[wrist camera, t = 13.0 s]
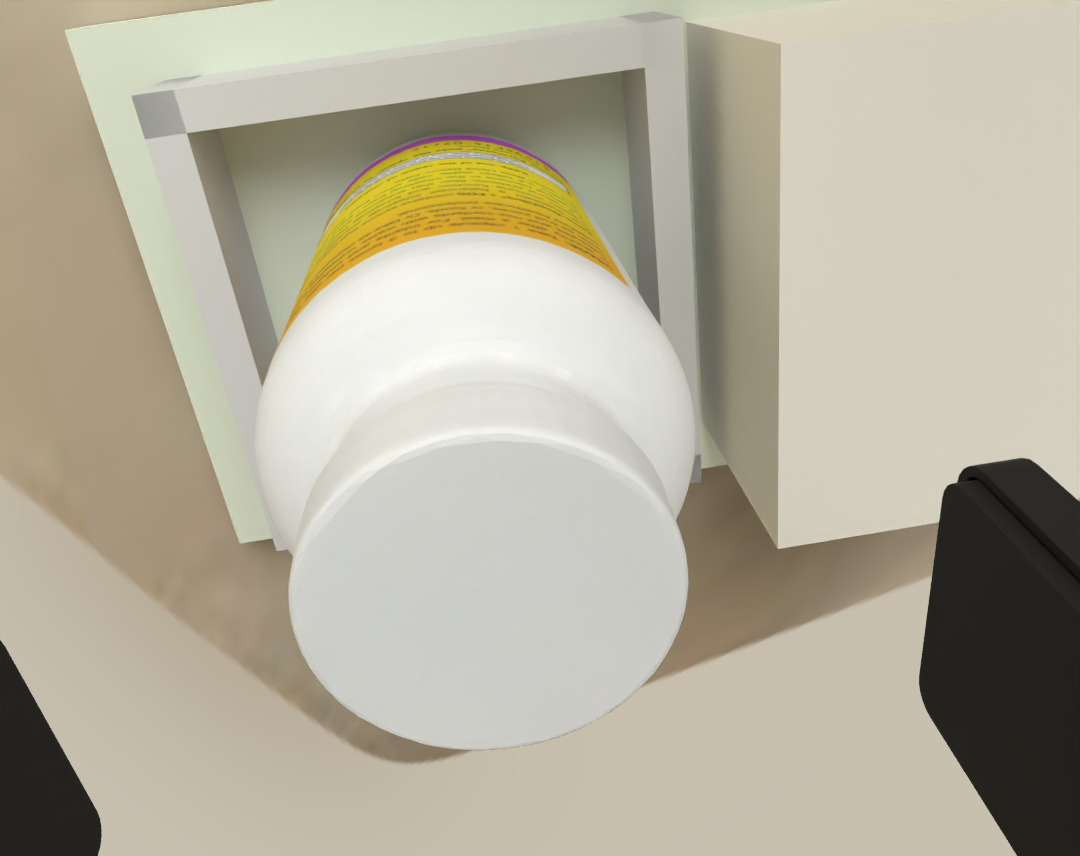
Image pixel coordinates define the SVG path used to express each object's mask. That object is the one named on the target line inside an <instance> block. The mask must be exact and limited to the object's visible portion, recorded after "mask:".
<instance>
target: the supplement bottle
mask: <svg viewBox="0 0 1080 856" xmlns="http://www.w3.org/2000/svg"><path fill="white" fill-rule="evenodd" d="M695 437H696V431H695V421H694V411H693V405H692V400H691V394H690V390H689V386H688V383H687V379H686V376H685V373H684V371H683V368H682V366H681V363H680V361H679V359H678V357H677V355H676V353H675V351H674V349H673V347H672V345H671V343H670V341H669V340H668V338H667V336H666V334H665V333H664V331H663V329H662V328H661V326H660V325H659V323H658V322H657V320H656V319H655V317H654V316H653V314H652V313H651V311H650V310H649V308H648V307H647V305H646V304H645V302H644V300H643V299H642V297H641V295H640V294H639V292H638V291H637V289H636V287H635V286H634V284H633V282H632V281H631V279H630V277H629V276H628V274H627V272H626V271H625V269H624V267H623V266H622V264H621V263H620V261H619V259H618V258H617V256H616V254H615V253H614V251H613V249H612V247H611V246H610V244H609V242H608V241H607V239H606V237H605V236H604V234H603V232H602V231H601V229H600V227H599V226H598V224H597V222H596V221H595V219H594V217H593V216H592V214H591V212H590V211H589V209H588V208H587V206H586V204H585V203H584V201H583V200H582V198H581V197H580V195H579V194H578V193H577V191H576V190H575V189H574V187H573V186H572V185H571V184H570V183H569V181H568V180H567V179H566V178H565V177H564V176H563V175H562V174H561V173H560V172H559V171H558V170H557V169H556V168H555V167H554V166H552V165H551V164H550V163H548V162H547V161H546V160H545V159H543V158H542V157H540V156H539V155H537V154H536V153H534V152H532V151H530V150H529V149H527V148H525V147H523V146H521V145H519V144H516V143H514V142H511V141H508V140H506V139H503V138H500V137H495V136H491V135H486V134H480V133H468V132H450V133H440V134H434V135H428V136H424V137H420V138H416V139H413V140H411V141H408V142H406V143H403V144H401V145H399V146H397V147H395V148H392V149H391V150H389V151H388V152H386V153H384V154H383V155H381V156H380V157H378V158H377V159H375V160H374V161H372V162H371V163H370V164H369V165H368V166H366V167H365V168H364V169H363V170H362V171H361V172H360V173H359V174H358V175H357V176H356V177H355V178H354V179H353V180H352V181H351V183H350V184H349V185H348V186H347V188H346V189H345V190H344V192H343V193H342V195H341V196H340V198H339V199H338V201H337V203H336V205H335V206H334V208H333V210H332V212H331V214H330V216H329V218H328V220H327V223H326V225H325V228H324V231H323V233H322V236H321V238H320V241H319V243H318V246H317V249H316V251H315V254H314V256H313V259H312V261H311V264H310V266H309V269H308V271H307V274H306V277H305V279H304V282H303V284H302V287H301V289H300V292H299V294H298V297H297V299H296V302H295V304H294V307H293V309H292V312H291V314H290V317H289V320H288V322H287V325H286V327H285V330H284V332H283V334H282V337H281V339H280V342H279V344H278V347H277V349H276V351H275V354H274V356H273V358H272V361H271V364H270V367H269V370H268V373H267V376H266V378H265V381H264V384H263V387H262V391H261V394H260V398H259V403H258V408H257V413H256V421H255V437H254V451H255V462H256V470H257V477H258V481H259V484H260V490H261V494H262V497H263V500H264V503H265V506H266V509H267V511H268V514H269V516H270V518H271V520H272V522H273V525H274V527H275V529H276V531H277V533H278V535H279V536H280V538H281V539H282V541H283V543H284V544H285V546H286V547H287V549H288V550H289V552H290V553H291V555H292V556H293V560H292V565H291V571H290V578H289V584H288V601H289V613H290V620H291V624H292V627H293V631H294V635H295V638H296V641H297V643H298V646H299V649H300V652H301V653H302V655H303V657H304V659H305V660H306V662H307V664H308V666H309V667H310V669H311V670H312V672H313V673H314V675H315V676H316V678H317V679H318V680H319V681H320V683H321V684H322V685H323V686H324V687H325V688H326V689H327V690H328V692H329V693H330V694H331V695H332V696H333V697H334V698H335V699H336V700H337V701H338V702H340V703H341V704H342V705H343V706H345V707H346V708H347V709H348V710H350V711H351V712H352V713H354V714H355V715H357V716H358V717H360V718H362V719H363V720H365V721H367V722H369V723H371V724H373V725H375V726H376V727H378V728H380V729H382V730H385V731H387V732H390V733H392V734H395V735H397V736H400V737H403V738H406V739H409V740H412V741H415V742H418V743H421V744H425V745H430V746H436V747H441V748H448V749H460V750H493V749H505V748H514V747H520V746H526V745H532V744H537V743H540V742H544V741H547V740H550V739H554V738H558V737H560V736H563V735H565V734H568V733H570V732H573V731H575V730H578V729H580V728H582V727H584V726H586V725H588V724H589V723H592V722H593V721H595V720H597V719H599V718H601V717H602V716H604V715H606V714H607V713H609V712H611V711H612V710H614V709H615V708H616V707H618V706H619V705H620V704H622V703H623V702H624V701H626V700H627V699H628V698H630V697H631V696H632V695H633V694H634V693H635V692H636V691H637V690H638V689H639V688H640V687H641V686H642V685H643V684H644V683H645V682H646V681H647V680H648V679H649V678H650V677H651V676H652V674H653V673H654V672H655V671H656V670H657V668H658V667H659V665H660V664H661V662H662V661H663V659H664V658H665V656H666V655H667V653H668V652H669V650H670V648H671V646H672V644H673V642H674V640H675V637H676V635H677V633H678V631H679V628H680V626H681V623H682V619H683V616H684V612H685V608H686V603H687V595H688V586H689V585H688V567H687V559H686V552H685V547H684V544H683V540H682V536H681V533H680V530H679V528H678V525H677V522H676V519H677V517H678V515H679V513H680V511H681V508H682V506H683V503H684V500H685V497H686V494H687V491H688V487H689V483H690V479H691V475H692V469H693V464H694V455H695Z"/></svg>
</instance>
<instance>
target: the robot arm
mask: <svg viewBox="0 0 1080 856" xmlns="http://www.w3.org/2000/svg"><path fill="white" fill-rule="evenodd" d="M919 685H920V692H921V696H922V700H923V703H924V705H925V708H926V710H927V712H928V714H929V716H930V717H931V719H932V721H933V722H934V724H935V725H936V727H937V729H938V730H939V732H940V733H941V735H942V737H943V738H944V740H945V741H946V743H947V744H948V746H949V748H950V749H951V751H952V752H953V754H954V756H955V757H956V759H957V760H958V762H959V764H960V765H961V767H962V768H963V770H964V772H965V773H966V775H967V776H968V778H969V779H970V781H971V783H972V784H973V786H974V788H975V789H976V791H977V792H978V794H979V795H980V797H981V799H982V800H983V802H984V803H985V805H986V807H987V808H988V810H989V812H990V813H991V815H992V816H993V818H994V819H995V821H996V823H997V824H998V826H999V827H1000V829H1001V831H1002V832H1003V834H1004V835H1005V837H1006V839H1007V840H1008V842H1009V843H1010V845H1011V847H1012V848H1013V850H1014V851H1015V853H1016V855H1017V856H1080V502H1079V501H1078V500H1077V499H1076V498H1075V497H1074V496H1073V495H1072V494H1070V493H1069V492H1068V491H1067V490H1066V489H1065V488H1064V487H1063V486H1061V485H1060V484H1059V483H1058V482H1057V481H1056V480H1055V479H1054V478H1052V477H1051V476H1050V475H1049V474H1048V473H1047V472H1046V471H1045V470H1043V469H1042V468H1041V467H1040V466H1039V465H1038V464H1036V463H1035V462H1033V461H1032V460H1030V459H1026V458H1017V459H1011V460H1005V461H998V462H992V463H986V464H979V465H973V466H968V467H966V468H964V469H963V470H962V472H961V473H960V475H959V477H958V481H957V483H952V484H950V485H948V486H947V487H946V488H945V490H944V493H943V497H942V504H941V512H940V520H939V527H938V535H937V543H936V551H935V558H934V566H933V574H932V582H931V589H930V597H929V605H928V613H927V620H926V628H925V636H924V644H923V651H922V659H921V668H920V675H919ZM100 843H101V823H100V818H99V815H98V813H97V810H96V809H95V807H94V805H93V803H92V801H91V800H90V798H89V796H88V794H87V792H86V791H85V789H84V787H83V785H82V784H81V782H80V780H79V778H78V776H77V775H76V773H75V771H74V769H73V768H72V766H71V764H70V762H69V760H68V759H67V757H66V755H65V753H64V751H63V749H62V748H61V746H60V744H59V743H58V741H57V739H56V737H55V735H54V733H53V732H52V730H51V728H50V727H49V724H48V723H47V721H46V719H45V717H44V715H43V714H42V712H41V710H40V708H39V707H38V705H37V703H36V701H35V699H34V698H33V696H32V694H31V692H30V690H29V689H28V687H27V685H26V683H25V681H24V680H23V678H22V676H21V675H20V673H19V671H18V669H17V667H16V665H15V664H14V662H13V660H12V658H11V657H10V655H9V653H8V651H7V649H6V647H5V646H4V645H3V643H2V642H1V641H0V856H98V852H99V849H100Z"/></svg>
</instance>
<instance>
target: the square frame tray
mask: <svg viewBox="0 0 1080 856" xmlns="http://www.w3.org/2000/svg"><path fill="white" fill-rule="evenodd" d="M64 31H65V34H66V37H67V40H68V43H69V46H70V49H71V52H72V54H73V57H74V60H75V63H76V66H77V69H78V72H79V75H80V78H81V81H82V84H83V87H84V90H85V92H86V95H87V98H88V101H89V104H90V107H91V110H92V113H93V116H94V119H95V122H96V125H97V128H98V131H99V133H100V136H101V139H102V142H103V145H104V148H105V151H106V154H107V157H108V160H109V163H110V166H111V169H112V172H113V174H114V177H115V180H116V183H117V186H118V189H119V192H120V195H121V198H122V201H123V204H124V207H125V210H126V213H127V215H128V218H129V221H130V224H131V227H132V230H133V233H134V236H135V239H136V242H137V245H138V248H139V251H140V253H141V256H142V259H143V262H144V265H145V268H146V271H147V274H148V277H149V280H150V283H151V286H152V289H153V292H154V294H155V297H156V300H157V303H158V306H159V309H160V312H161V315H162V318H163V321H164V324H165V327H166V330H167V333H168V335H169V338H170V341H171V344H172V347H173V350H174V353H175V356H176V359H177V362H178V365H179V368H180V371H181V374H182V376H183V379H184V382H185V385H186V388H187V391H188V394H189V397H190V400H191V403H192V406H193V409H194V412H195V414H196V417H197V420H198V423H199V426H200V429H201V432H202V435H203V438H204V441H205V444H206V447H207V450H208V453H209V455H210V458H211V461H212V464H213V467H214V470H215V473H216V476H217V479H218V482H219V485H220V488H221V491H222V494H223V496H224V499H225V502H226V505H227V508H228V511H229V514H230V517H231V520H232V523H233V526H234V529H235V532H236V535H237V537H238V540H239V543H240V544H241V543H247V542H253V541H260V540H266V539H273V542H274V545H275V548H276V551H281V550H287V547H286V546H285V544H284V543H283V541H282V539H281V538H280V536H279V535H278V533H277V531H276V529H275V527H274V525H273V522H272V520H271V518H270V516H269V514H268V511H267V509H266V506H265V503H264V500H263V497H262V494H261V490H260V484H259V481H258V477H257V470H256V462H255V451H254V437H255V421H256V413H257V408H258V403H259V398H260V394H261V391H262V387H263V384H264V381H265V378H266V376H267V373H268V370H269V367H270V364H271V361H272V358H273V356H274V354H275V351H276V349H277V347H278V344H279V342H280V339H281V337H282V334H283V332H284V330H285V327H286V325H287V322H288V320H289V317H290V314H291V312H292V309H293V307H294V304H295V302H296V299H297V297H298V294H299V292H300V289H301V287H302V284H303V282H304V279H305V277H306V274H307V271H308V269H309V266H310V264H311V261H312V259H313V256H314V254H315V251H316V249H317V246H318V243H319V241H320V238H321V236H322V233H323V231H324V228H325V225H326V223H327V220H328V218H329V216H330V214H331V212H332V210H333V208H334V206H335V205H336V203H337V201H338V199H339V198H340V196H341V195H342V193H343V192H344V190H345V189H346V188H347V186H348V185H349V184H350V183H351V181H352V180H353V179H354V178H355V177H356V176H357V175H358V174H359V173H360V172H361V171H362V170H363V169H364V168H365V167H366V166H368V165H369V164H370V163H371V162H372V161H374V160H375V159H377V158H378V157H380V156H381V155H383V154H384V153H386V152H388V151H389V150H391V149H392V148H395V147H397V146H399V145H401V144H403V143H406V142H408V141H411V140H413V139H416V138H420V137H424V136H428V135H434V134H440V133H450V132H468V133H480V134H486V135H491V136H495V137H500V138H503V139H506V140H508V141H511V142H514V143H516V144H519V145H521V146H523V147H525V148H527V149H529V150H530V151H532V152H534V153H536V154H537V155H539V156H540V157H542V158H543V159H545V160H546V161H547V162H548V163H550V164H551V165H552V166H554V167H555V168H556V169H557V170H558V171H559V172H560V173H561V174H562V175H563V176H564V177H565V178H566V179H567V180H568V181H569V183H570V184H571V185H572V186H573V187H574V189H575V190H576V191H577V193H578V194H579V195H580V197H581V198H582V200H583V201H584V203H585V204H586V206H587V208H588V209H589V211H590V212H591V214H592V216H593V217H594V219H595V221H596V222H597V224H598V226H599V227H600V229H601V231H602V232H603V234H604V236H605V237H606V239H607V241H608V242H609V244H610V246H611V247H612V249H613V251H614V253H615V254H616V256H617V258H618V259H619V261H620V263H621V264H622V266H623V267H624V269H625V271H626V272H627V274H628V276H629V277H630V279H631V281H632V282H633V284H634V286H635V287H636V289H637V291H638V292H639V294H640V295H641V297H642V299H643V300H644V302H645V304H646V305H647V307H648V308H649V310H650V311H651V313H652V314H653V316H654V317H655V319H656V320H657V322H658V323H659V325H660V326H661V328H662V329H663V331H664V333H665V334H666V336H667V338H668V340H669V341H670V343H671V345H672V347H673V349H674V351H675V353H676V355H677V357H678V359H679V361H680V363H681V366H682V368H683V371H684V373H685V376H686V379H687V383H688V386H689V390H690V394H691V400H692V405H693V411H694V421H695V431H696V437H695V455H694V464H693V469H692V475H691V479H690V483H689V484H693V483H699V482H702V470H701V469H704V468H710V467H716V466H723V465H728V466H729V468H730V469H731V471H732V473H733V474H734V476H735V478H736V480H737V481H738V483H739V485H740V486H741V488H742V490H743V491H744V493H745V495H746V496H747V498H748V500H749V501H750V503H751V505H752V507H753V508H754V510H755V512H756V513H757V515H758V517H759V518H760V520H761V522H762V523H763V525H764V527H765V528H766V530H767V532H768V534H769V535H770V537H771V539H772V540H773V542H774V544H775V545H776V547H777V549H782V548H788V547H794V546H800V545H806V544H812V543H818V542H824V541H830V540H836V539H842V538H848V537H854V536H860V535H866V534H872V533H878V532H884V531H890V530H896V529H902V528H908V527H914V526H920V525H926V524H932V523H938V522H939V520H940V512H941V504H942V497H943V493H944V490H945V488H946V487H947V486H948V485H950V484H952V483H957V481H958V477H959V475H960V473H961V472H962V470H963V469H964V468H966V467H968V466H973V465H979V464H986V463H992V462H998V461H1005V460H1011V459H1017V458H1026V459H1030V460H1032V461H1033V462H1035V463H1036V464H1038V465H1039V466H1040V467H1041V468H1042V469H1043V470H1045V471H1046V472H1047V473H1048V474H1049V475H1050V476H1051V477H1052V478H1054V479H1055V480H1056V481H1057V482H1058V483H1059V484H1060V485H1061V486H1063V487H1064V488H1065V489H1066V490H1067V491H1068V492H1069V493H1070V494H1072V495H1073V496H1074V497H1075V498H1076V499H1080V0H270V1H263V2H256V3H248V4H241V5H234V6H227V7H219V8H212V9H205V10H198V11H190V12H183V13H176V14H169V15H161V16H154V17H147V18H140V19H132V20H125V21H118V22H111V23H103V24H96V25H89V26H83V27H78V28H73V29H68V30H64Z"/></svg>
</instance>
